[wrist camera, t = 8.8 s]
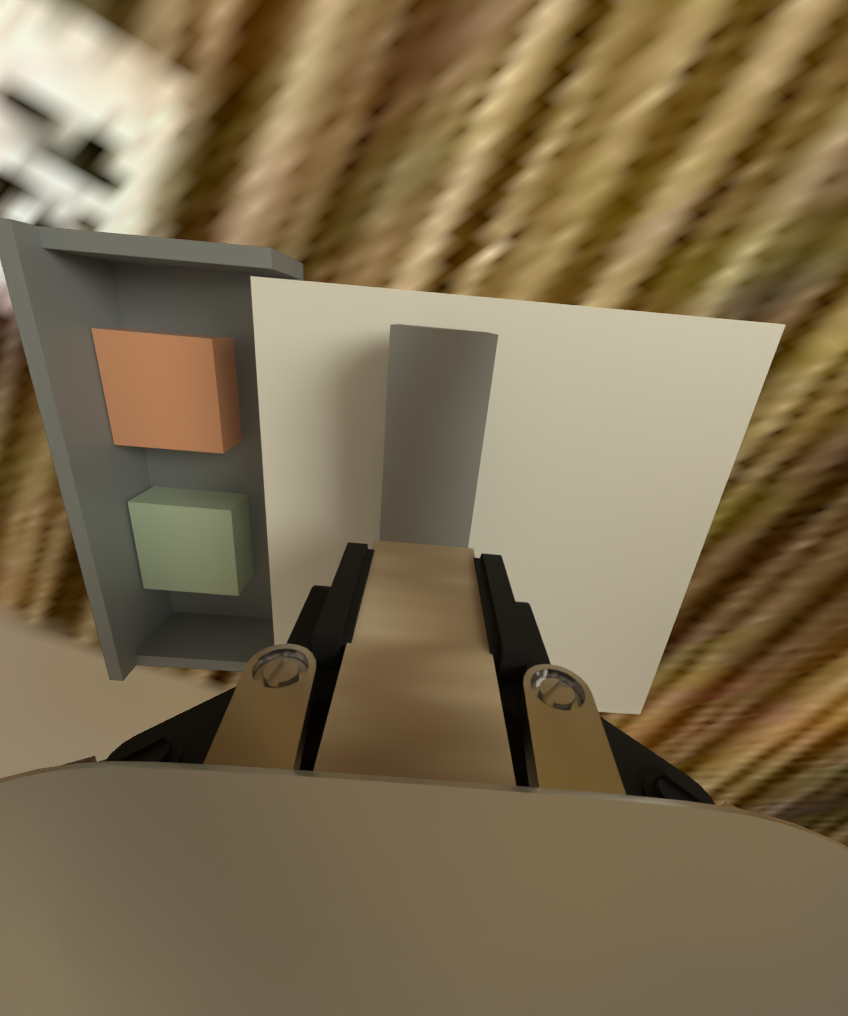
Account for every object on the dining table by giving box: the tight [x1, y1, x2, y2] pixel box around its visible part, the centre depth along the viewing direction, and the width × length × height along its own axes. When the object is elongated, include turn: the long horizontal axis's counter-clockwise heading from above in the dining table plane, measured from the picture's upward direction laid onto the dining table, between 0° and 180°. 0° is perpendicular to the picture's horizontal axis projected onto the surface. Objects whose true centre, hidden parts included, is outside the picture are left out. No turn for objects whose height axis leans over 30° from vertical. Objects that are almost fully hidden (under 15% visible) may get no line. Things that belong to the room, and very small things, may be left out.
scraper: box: [313, 324, 516, 786], centre depth 10 cm, size 3×14×10 cm, turn 175°
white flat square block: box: [250, 276, 786, 714], centre depth 19 cm, size 16×16×6 cm
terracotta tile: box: [91, 328, 242, 454], centre depth 18 cm, size 4×4×2 cm
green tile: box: [128, 486, 254, 596], centre depth 21 cm, size 4×4×2 cm
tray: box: [0, 218, 303, 681], centre depth 19 cm, size 8×18×5 cm, turn 175°
